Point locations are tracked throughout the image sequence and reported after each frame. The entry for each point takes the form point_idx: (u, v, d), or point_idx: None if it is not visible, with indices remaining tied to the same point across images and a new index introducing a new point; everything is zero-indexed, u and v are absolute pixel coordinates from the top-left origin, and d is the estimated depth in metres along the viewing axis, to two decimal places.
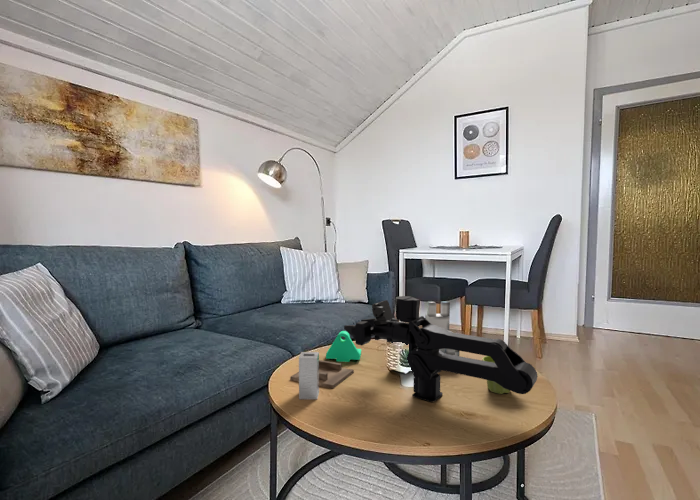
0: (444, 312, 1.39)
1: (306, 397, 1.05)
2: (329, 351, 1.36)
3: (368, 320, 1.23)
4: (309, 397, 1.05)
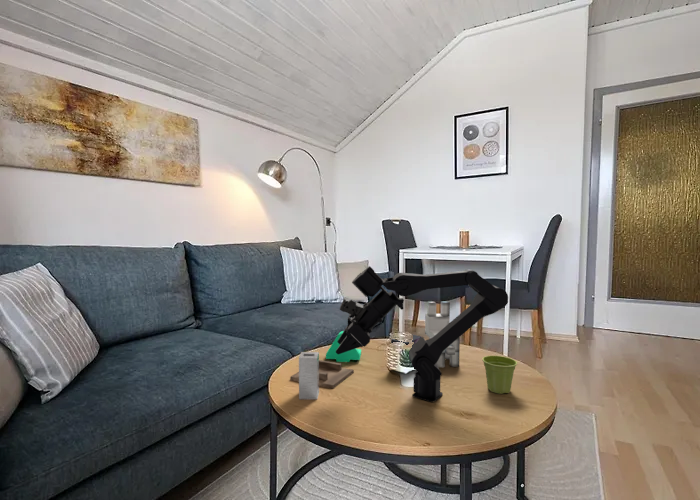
0: (444, 312, 1.39)
1: (306, 397, 1.05)
2: (329, 351, 1.35)
3: (343, 334, 1.11)
4: (309, 397, 1.05)
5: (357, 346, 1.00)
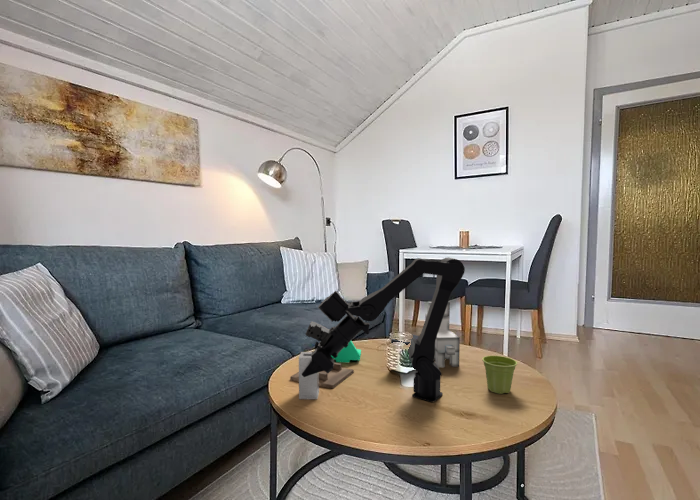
0: None
1: (306, 397, 1.05)
2: None
3: None
4: (309, 397, 1.05)
5: (322, 369, 1.03)
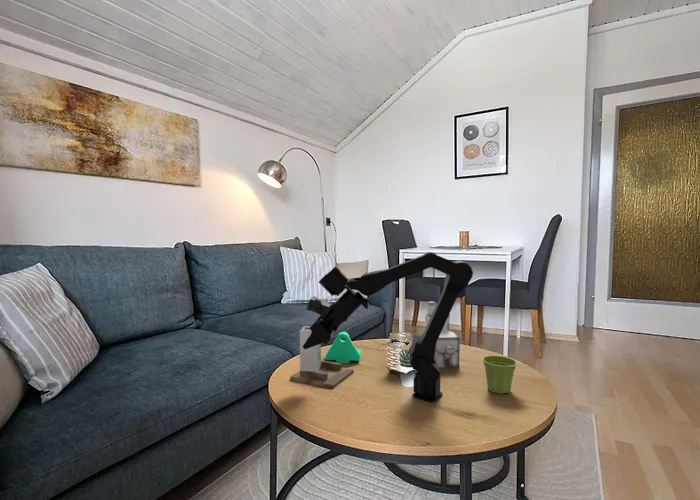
0: None
1: (307, 369, 1.08)
2: (329, 352, 1.35)
3: None
4: (310, 369, 1.08)
5: (321, 342, 1.05)
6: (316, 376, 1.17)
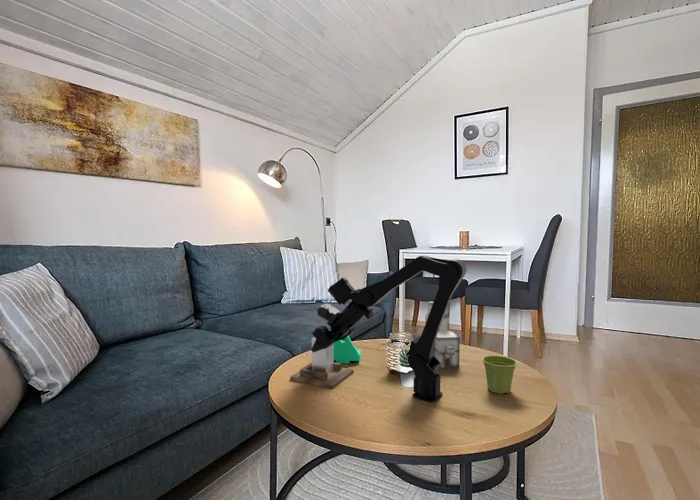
0: None
1: None
2: None
3: None
4: None
5: None
6: (316, 376, 1.17)
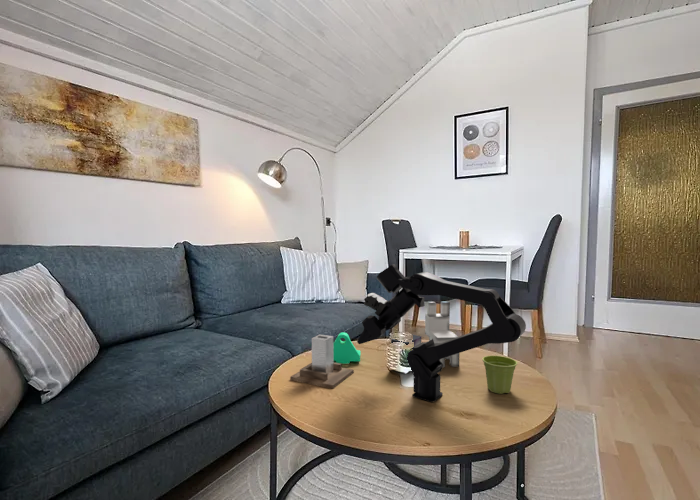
0: (444, 312, 1.39)
1: None
2: None
3: None
4: None
5: (373, 338, 1.08)
6: (316, 376, 1.17)
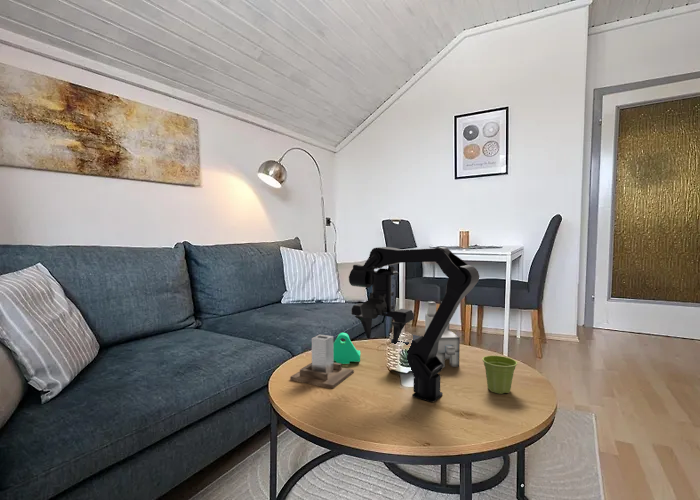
0: None
1: None
2: None
3: (367, 329, 1.17)
4: None
5: (404, 324, 1.13)
6: (316, 376, 1.17)
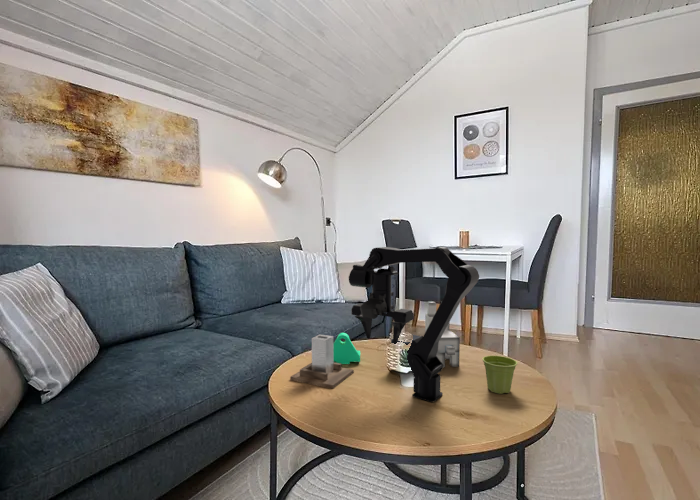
0: None
1: None
2: None
3: (367, 329, 1.17)
4: None
5: (404, 324, 1.13)
6: (316, 376, 1.17)
